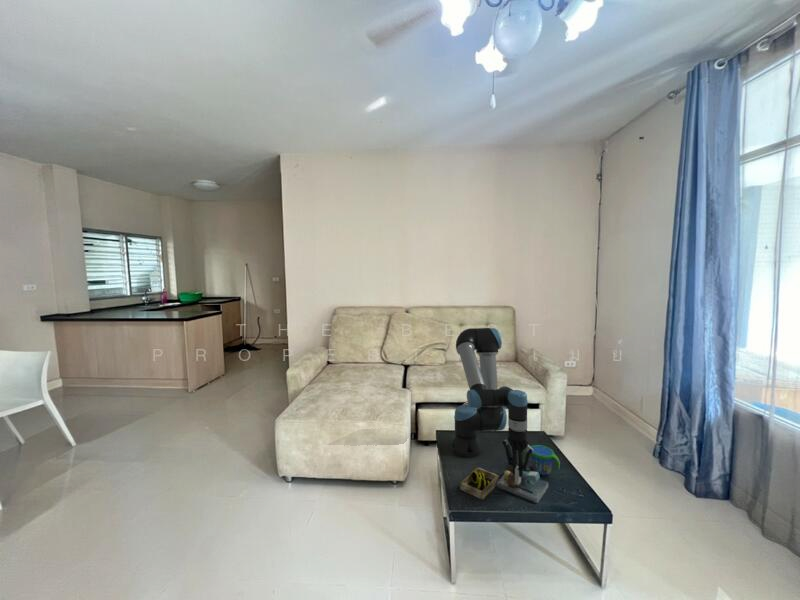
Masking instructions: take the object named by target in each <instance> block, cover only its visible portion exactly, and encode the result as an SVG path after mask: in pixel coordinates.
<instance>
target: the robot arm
mask: <svg viewBox="0 0 800 600" xmlns="http://www.w3.org/2000/svg"><path fill="white" fill-rule="evenodd" d="M455 341H456V342H455V350H456V352H457V354H458V355H459V356H460V360H461V364H462V367H463V371H464V373H465V374H464V375H465V377H466V381H467V385H468V390H467V392H466V401H467V404H462V405H459V406H457V407H456V408H455V410H454V417H453V418H454V437H453V440H452V443H451V452H452V453H453V454H454V455H455V456H458V457H461V458H466V459H467V458H469V459H471V458H476V457H478V456H479V455H481V453H482V451H481V449H482V448H481V444H480V441H479V438H478V433H479V432H499V431H500V432H501V431H503V430H505V428H506V426H507V424H508V428H507V431H508V432H507V433H508V434H507V435H508V437H507V438H505V439H503V441H502V445H503V447H504V450H505V455H506V459H507V463H508V464H509V465H512V466H513V474H514V475H515V484H517V485H519V484H520V482H521V477H522V476H523V471H526V468H529V464H530V460H531V453H532V452H533V450H534V448H533V447H532V448H531V445H529V442H528V403H529V402H528V401H529V400H528V395H527V393H526V392H525V391H522V390H521V389H520V390H519V389H512V388H511V387H509V386H507V385H503V386H501V387H499V386H498V371H497V357H496V356H497V355H498V354H499V350H500V349H502V344H503V342H502V336H501V333H500V332H499V330H498V329H497V328H494V327H477V328H473V327H471V328H466V329H464V330H462V331H461V332H460V333H459V335H458V336H457V338H456V340H455ZM475 351H476V353H475ZM476 354H477V356H479V357H478V358H479V362H478V359H477V356H476ZM504 407H506V408H507V410H506V409H505V408H504ZM507 413H508V414H507ZM526 449H527V451H526V458H525V459H524V452H525V450H526Z"/></svg>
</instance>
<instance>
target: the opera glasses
mask: <svg viewBox="0 0 800 600" xmlns="http://www.w3.org/2000/svg"><path fill="white" fill-rule="evenodd" d="M470 474H472V478H471V480H472V481H471V482H472V483H473V484H477V489H478V490H481V491H483V490H484V489H485V487H486V486H487V485H490V484H489V483H490V481H489V480H486V478H485V477H484V474H483V473H479V472H476V471H474V470H472V471H471V473H470Z"/></svg>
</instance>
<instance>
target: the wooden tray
mask: <svg viewBox="0 0 800 600" xmlns="http://www.w3.org/2000/svg"><path fill="white" fill-rule="evenodd" d="M473 471H476V472H479V473H483V474H484V477H485V479H488V480H490V481H489V484H490V485H487V486H486V487H485V489H484V490H482V489H480V490H478V488H476V487H474V486H472V485H470V483H471V482H472V480H471V478H472V474H471V473H469V474H468V475H467V476H466V477H465V478H464V479H463V480H462V481H460V484H459V486H460V487H459V490H460V491H463V492H465V493H467V494H469V495H471V496H472V497H473V496H474V497H476V498H478V499H479V500H482V501H483V500H484V499H485V498H486V497H487V496H488V495H489V494H490V493H491V492H492V491H493V490H494V489H495V487H497V482H498V481H499V480H500V475H499V474H496V473H494V472H491V471H488V470H486V469H484V468H481V467H476V468H475V469H474V470H473Z"/></svg>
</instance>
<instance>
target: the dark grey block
mask: <svg viewBox="0 0 800 600" xmlns="http://www.w3.org/2000/svg"><path fill="white" fill-rule="evenodd" d="M507 471H510V472H512V473H513V466H512V465H509V464H508V462H507Z"/></svg>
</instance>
